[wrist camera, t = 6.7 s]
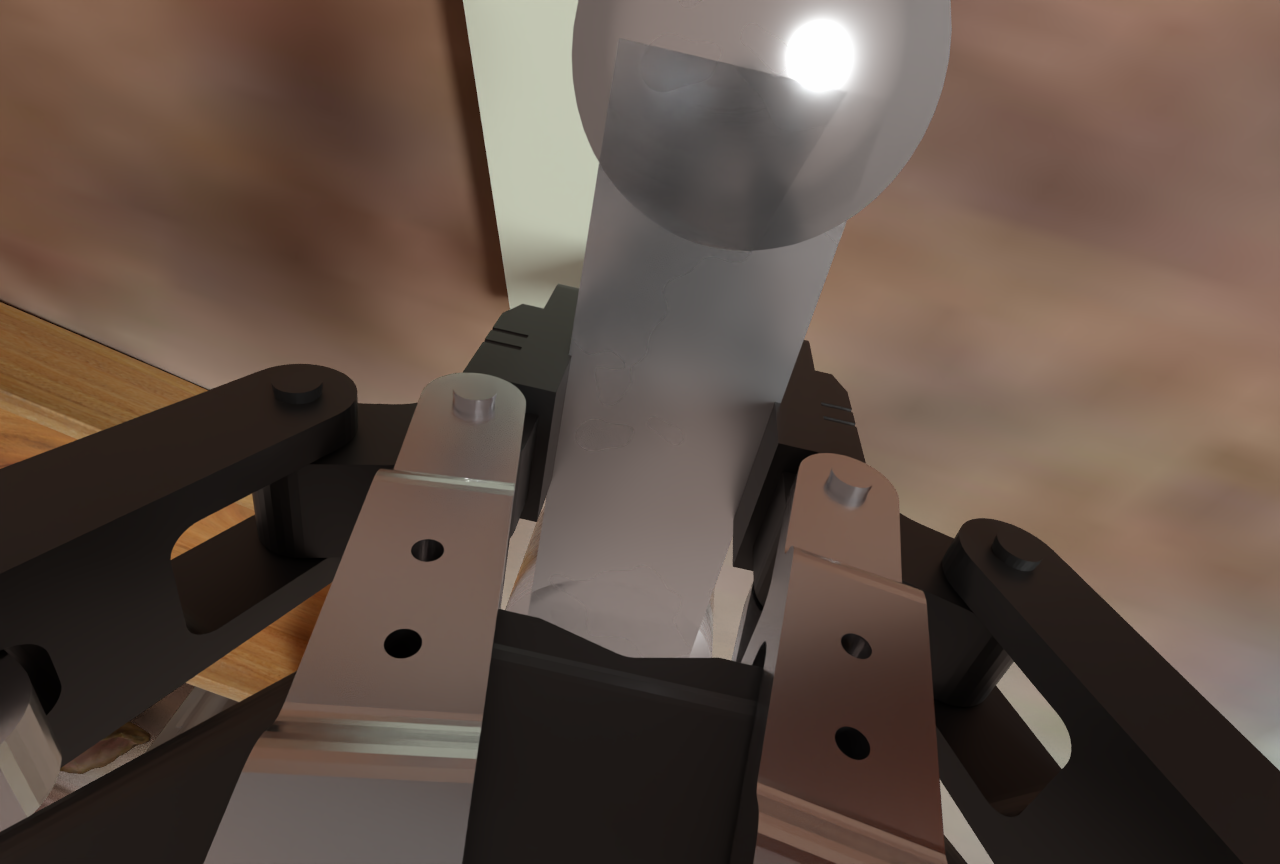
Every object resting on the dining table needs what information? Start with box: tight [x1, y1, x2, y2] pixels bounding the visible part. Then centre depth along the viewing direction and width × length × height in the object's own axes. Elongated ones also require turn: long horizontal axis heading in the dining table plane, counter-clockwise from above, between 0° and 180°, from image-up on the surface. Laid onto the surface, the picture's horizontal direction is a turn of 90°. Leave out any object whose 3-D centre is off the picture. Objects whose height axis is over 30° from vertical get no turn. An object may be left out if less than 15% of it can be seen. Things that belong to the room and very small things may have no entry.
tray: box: [0, 302, 332, 702], centre depth 34 cm, size 31×15×6 cm, turn 63°
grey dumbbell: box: [505, 0, 952, 658], centre depth 12 cm, size 14×4×3 cm, turn 169°
